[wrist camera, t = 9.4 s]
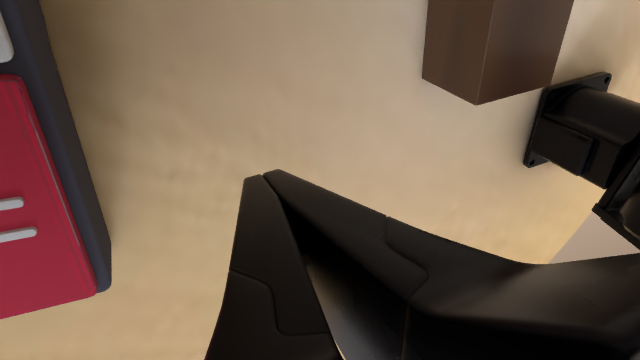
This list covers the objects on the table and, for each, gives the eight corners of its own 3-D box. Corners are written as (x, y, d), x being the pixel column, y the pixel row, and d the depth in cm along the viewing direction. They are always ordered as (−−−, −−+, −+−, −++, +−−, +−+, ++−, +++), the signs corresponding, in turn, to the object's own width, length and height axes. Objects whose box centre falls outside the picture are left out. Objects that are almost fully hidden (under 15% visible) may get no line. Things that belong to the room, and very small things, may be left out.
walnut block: (517, -95, 20) (602, -98, 16) (488, 62, 24) (550, 85, 21) (436, -87, 18) (510, -89, 15) (421, 78, 23) (475, 106, 19)
